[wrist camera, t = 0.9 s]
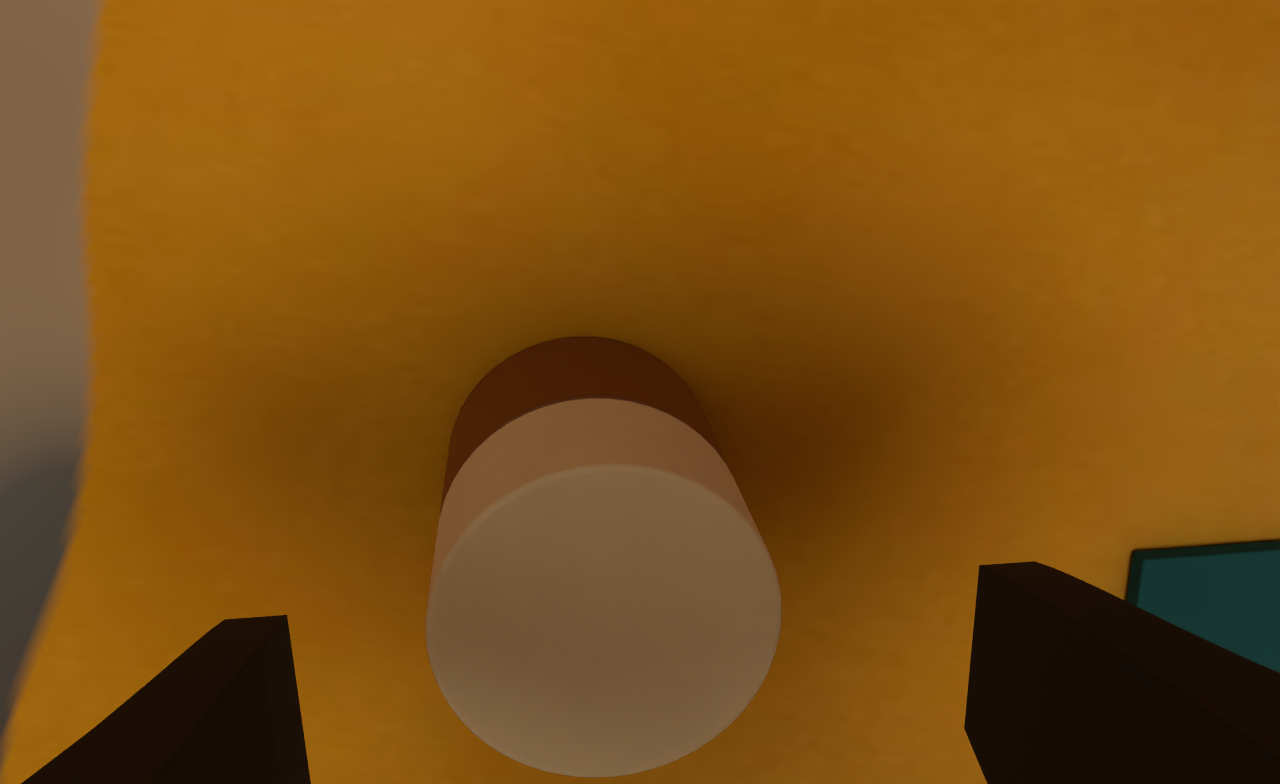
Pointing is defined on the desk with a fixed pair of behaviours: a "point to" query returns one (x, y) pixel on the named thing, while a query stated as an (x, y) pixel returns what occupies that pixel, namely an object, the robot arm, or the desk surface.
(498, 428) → the two-tone cylinder
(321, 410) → the desk surface
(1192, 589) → the flat teal panel
